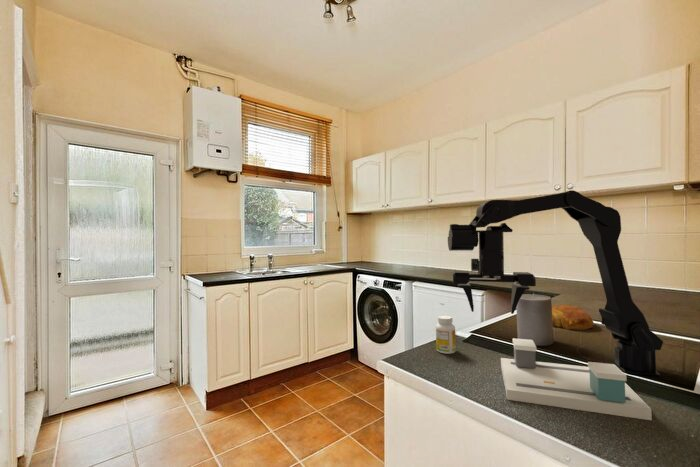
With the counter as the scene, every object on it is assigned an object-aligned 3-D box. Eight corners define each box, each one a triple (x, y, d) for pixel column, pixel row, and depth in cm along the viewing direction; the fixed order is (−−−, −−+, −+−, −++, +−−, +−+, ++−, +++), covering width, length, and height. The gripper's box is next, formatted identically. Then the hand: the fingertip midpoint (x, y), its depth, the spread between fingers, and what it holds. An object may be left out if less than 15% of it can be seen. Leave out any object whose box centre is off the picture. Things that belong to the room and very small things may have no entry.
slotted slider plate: (612, 378, 74) (611, 368, 74) (651, 420, 57) (651, 408, 57) (500, 365, 82) (500, 357, 82) (507, 399, 66) (506, 389, 66)
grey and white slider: (533, 360, 79) (532, 339, 80) (536, 368, 74) (536, 347, 74) (513, 358, 81) (512, 338, 81) (515, 366, 76) (514, 345, 76)
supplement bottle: (449, 346, 97) (448, 314, 97) (459, 352, 92) (458, 318, 92) (433, 348, 96) (432, 315, 96) (442, 355, 91) (441, 320, 91)
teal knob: (615, 390, 64) (614, 364, 64) (627, 403, 59) (626, 375, 59) (588, 386, 65) (587, 361, 65) (597, 399, 60) (596, 372, 60)
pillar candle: (545, 336, 105) (543, 289, 105) (559, 346, 95) (557, 295, 95) (513, 336, 106) (511, 290, 107) (523, 345, 97) (521, 295, 97)
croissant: (537, 326, 124) (533, 305, 125) (578, 319, 124) (574, 298, 124) (560, 336, 110) (555, 313, 110) (606, 329, 109) (602, 305, 110)
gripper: (524, 249, 87) (525, 307, 87) (451, 249, 92) (452, 304, 92) (535, 251, 77) (536, 317, 76) (452, 251, 82) (453, 313, 82)
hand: (491, 312), depth 82 cm, fingers open, 9 cm apart
